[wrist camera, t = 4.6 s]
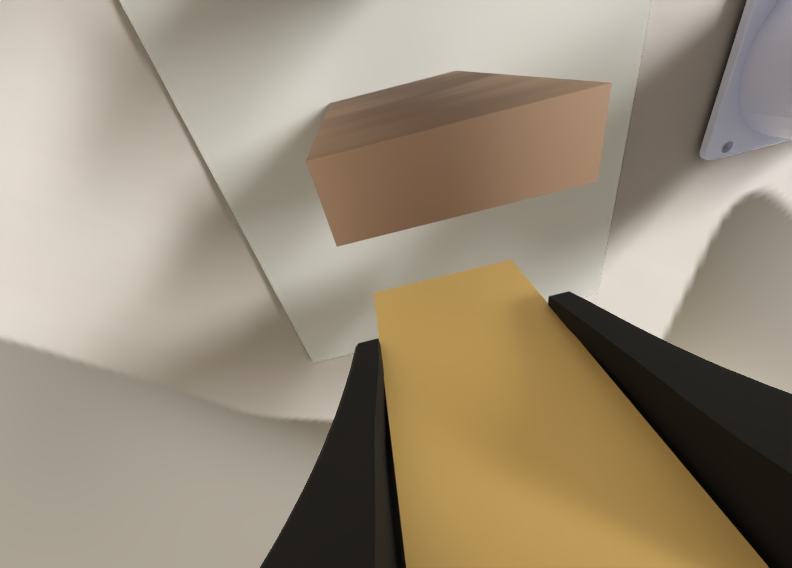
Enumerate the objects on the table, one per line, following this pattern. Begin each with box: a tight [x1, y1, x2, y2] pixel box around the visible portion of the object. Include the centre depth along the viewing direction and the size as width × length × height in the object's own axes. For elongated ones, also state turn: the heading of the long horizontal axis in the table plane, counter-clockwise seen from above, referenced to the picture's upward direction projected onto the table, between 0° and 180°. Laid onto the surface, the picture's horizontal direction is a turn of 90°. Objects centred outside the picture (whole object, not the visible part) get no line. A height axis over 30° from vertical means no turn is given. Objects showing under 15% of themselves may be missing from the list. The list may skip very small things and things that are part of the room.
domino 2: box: [374, 260, 769, 568], centre depth 8 cm, size 5×2×9 cm, turn 102°
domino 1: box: [306, 71, 612, 247], centre depth 9 cm, size 5×2×9 cm, turn 102°
